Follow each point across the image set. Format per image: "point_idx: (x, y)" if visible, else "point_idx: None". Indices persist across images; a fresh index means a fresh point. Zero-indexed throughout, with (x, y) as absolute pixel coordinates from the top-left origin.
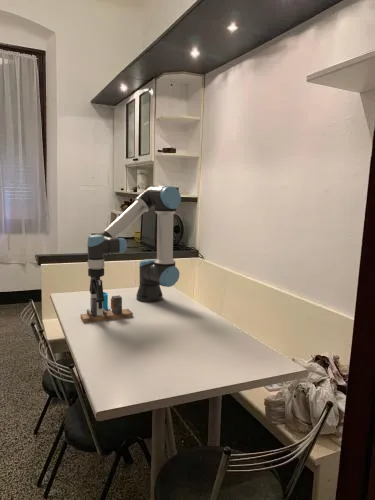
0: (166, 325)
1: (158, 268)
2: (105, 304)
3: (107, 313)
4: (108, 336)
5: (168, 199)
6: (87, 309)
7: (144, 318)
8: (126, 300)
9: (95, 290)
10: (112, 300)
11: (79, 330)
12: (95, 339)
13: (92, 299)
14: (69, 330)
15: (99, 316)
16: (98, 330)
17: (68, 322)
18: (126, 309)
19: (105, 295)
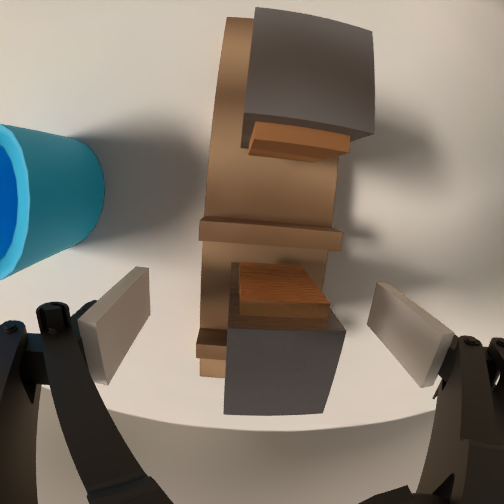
0: (477, 28)
1: None
2: (75, 158)
3: (269, 198)
4: (493, 290)
5: None
6: (196, 353)
7: (381, 18)
8: (19, 24)
9: (91, 380)
10: (345, 152)
11: (383, 389)
12: (483, 339)
13: (286, 407)
14: (356, 420)
15: (313, 280)
16: (434, 315)
17: (248, 418)
18: (237, 31)
19: (25, 153)
